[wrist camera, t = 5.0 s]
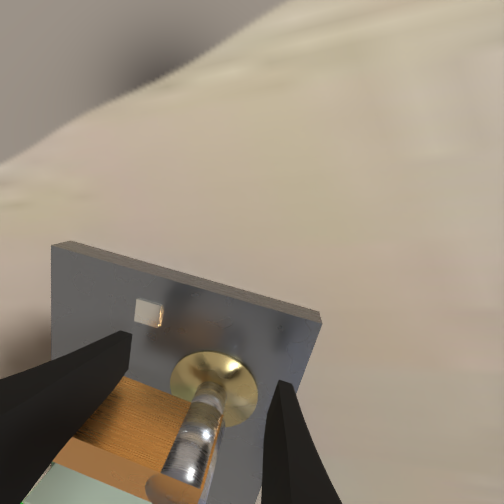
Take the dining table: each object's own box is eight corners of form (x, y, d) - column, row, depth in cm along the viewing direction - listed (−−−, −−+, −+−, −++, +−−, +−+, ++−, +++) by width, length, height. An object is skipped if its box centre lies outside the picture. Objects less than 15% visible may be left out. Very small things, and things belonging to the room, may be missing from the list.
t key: (126, 343, 13) (45, 420, 9) (237, 386, 13) (212, 487, 8) (119, 376, 14) (42, 462, 9) (225, 417, 14) (196, 527, 9)
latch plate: (318, 311, 13) (322, 325, 11) (234, 542, 19) (230, 569, 17) (70, 240, 14) (47, 246, 13) (65, 480, 20) (49, 501, 18)
